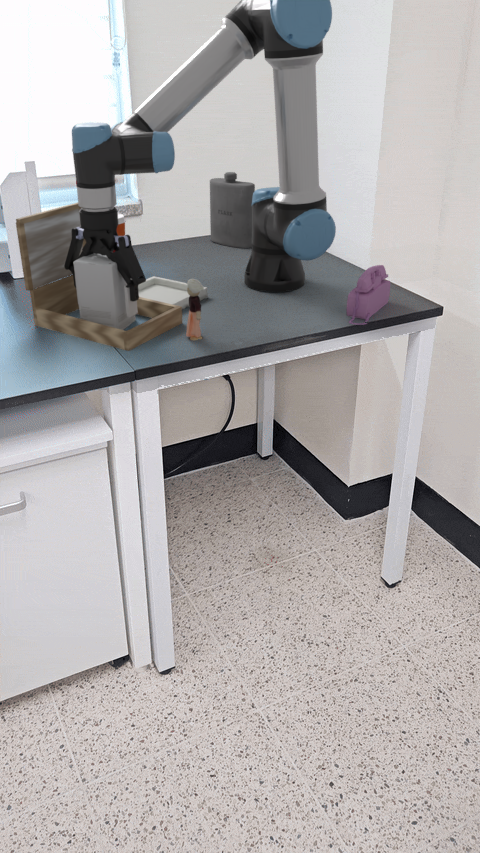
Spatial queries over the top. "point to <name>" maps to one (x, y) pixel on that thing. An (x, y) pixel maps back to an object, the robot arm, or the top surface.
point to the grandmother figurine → (194, 309)
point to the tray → (167, 291)
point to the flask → (231, 211)
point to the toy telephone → (368, 294)
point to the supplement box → (101, 291)
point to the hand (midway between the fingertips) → (107, 308)
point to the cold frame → (44, 263)
